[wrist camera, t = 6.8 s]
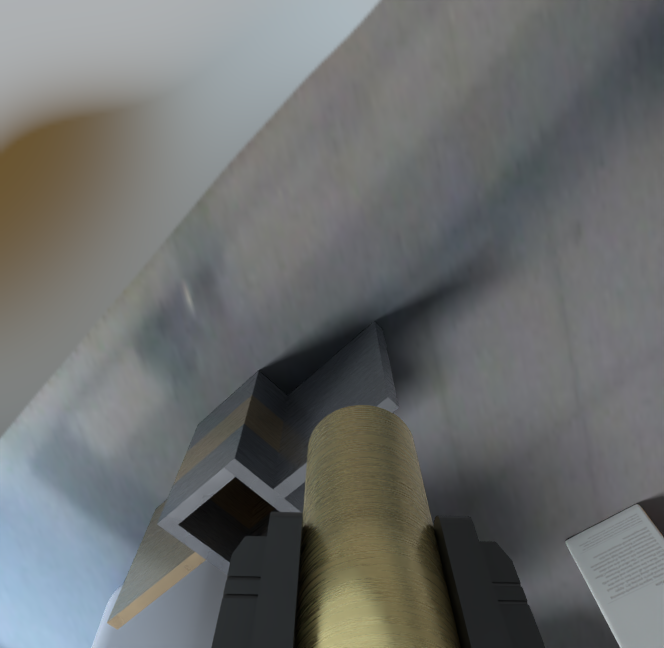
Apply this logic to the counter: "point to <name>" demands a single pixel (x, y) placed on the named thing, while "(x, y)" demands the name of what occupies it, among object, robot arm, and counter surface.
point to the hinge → (248, 468)
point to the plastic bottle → (171, 615)
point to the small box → (625, 575)
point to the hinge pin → (369, 540)
